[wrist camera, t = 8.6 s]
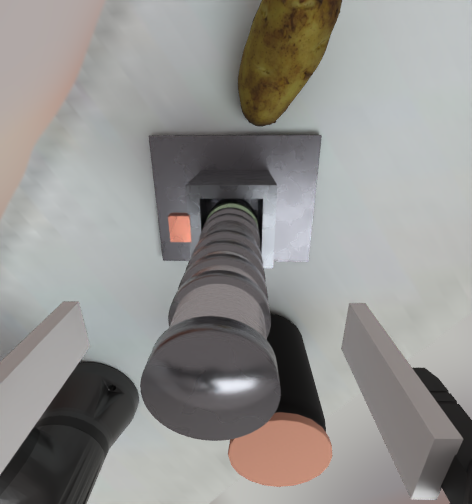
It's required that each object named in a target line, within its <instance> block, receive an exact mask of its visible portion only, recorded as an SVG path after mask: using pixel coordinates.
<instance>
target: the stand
mask: <svg viewBox="0 0 472 504" xmlns="http://www.w3.org/2000/svg"><path fill="white" fill-rule="evenodd" d="M321 137H322V135H196V136H149V142H150V151H151V160H152V168H153V177H154V186H155V195H156V203H157V212H158V221H159V230H160V238H161V247H162V256H163V260H166V261H190V259H191V256H192V254H193V251H194V249H195V247H196V245H197V244H198V242H199V238H200V234H201V232H202V230H203V227H204V225H205V223H206V220H207V218H208V215H209V213H210V211H211V209H212V207H213V206H214V205H215V204H216V203H217V202H218V201H220V200H222V199H243V200H245V201H247V202H248V203H249V204H250V205H251V206H252V207H253V209H254V210H255V213H256V216H257V223H258V230H259V237H260V251H261V254H262V259H263V268H273V261H293V262H308V261H309V251H310V242H311V232H312V223H313V213H314V204H315V194H316V185H317V175H318V165H319V156H320V146H321Z"/></svg>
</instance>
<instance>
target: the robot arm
mask: <svg viewBox="0 0 472 504" xmlns="http://www.w3.org/2000/svg"><path fill="white" fill-rule="evenodd" d="M89 348H90V343H89V339H88V335H87V331H86V327H85V323H84V319H83V315H82V311H81V307H80V303H79V302H69V301H63V302H62V303H61V304H60V305H59V306H58V307H57V308H56V309H55V310H54V311H53V312H52V313H51V314H50V315H49V316H48V317H47V318H46V319H45V320H44V321H43V322H42V323H41V324H39V325H38V326H37V327H36V328H35V329H34V330H33V331H32V332H31V333H30V334H29V335H28V336H27V337H26V338H25V339H24V340H23V341H22V342H21V343H20V344H19V345H18V346H16V347H15V348H14V349H13V350H12V351H11V352H10V353H9V354H8V355H7V356H6V357H5V358H4V359H3V360H2V361H1V362H0V504H86V503H87V501H88V499H89V496H90V494H91V491H92V489H93V487H94V484H95V482H96V479H97V477H98V475H99V472H100V470H101V467H102V465H103V462H104V460H105V458H106V455H107V453H108V451H109V449H110V447H111V446H112V445H113V443H114V442H115V441H116V440H117V439H118V437H119V436H120V435H121V434H122V432H123V431H124V430H125V428H126V427H127V426H128V425H129V424H130V422H131V421H132V419H133V417H134V415H135V412H136V409H137V407H138V403H139V396H138V392H137V390H136V388H135V386H134V384H133V383H132V382H131V381H130V380H129V379H128V378H127V377H126V376H125V375H124V374H122V373H121V372H119V371H118V370H116V369H114V368H112V367H109V366H106V365H103V364H99V363H91V362H83V363H79V362H80V360H81V359H82V358H83V356H84V355H85V353H86V352H87V350H88V349H89ZM341 349H342V351H343V353H344V355H345V358H346V360H347V362H348V364H349V366H350V368H351V371H352V373H353V375H354V377H355V379H356V381H357V384H358V386H359V388H360V390H361V392H362V394H363V396H364V399H365V401H366V403H367V405H368V407H369V409H370V412H371V414H372V416H373V418H374V420H375V422H376V425H377V427H378V429H379V431H380V433H381V435H382V438H383V440H384V442H385V444H386V446H387V448H388V450H389V453H390V455H391V457H392V459H393V461H394V464H395V466H396V468H397V470H398V472H399V474H400V477H401V479H402V481H403V483H404V485H405V487H406V490H407V492H408V494H409V496H410V498H411V499H418V500H436V499H437V497H438V495H439V493H440V491H441V488H442V489H443V491H444V492H445V494H446V496H447V498H448V499H449V501H450V504H472V420H471V419H470V417H469V416H468V415H467V414H466V413H465V411H464V410H463V409H462V407H461V406H460V405H459V404H457V401H456V400H455V399H454V397H453V396H452V395H451V394H449V393H448V390H447V389H446V387H445V386H444V385H443V384H442V382H441V381H440V380H439V379H438V378H437V377H436V376H434V375H433V374H432V373H431V372H429V371H428V370H427V369H425V368H412V367H411V366H410V364H409V363H408V362H407V360H406V359H405V357H404V356H403V355H402V353H401V352H400V351H399V349H398V348H397V346H396V345H395V344H394V342H393V341H392V340H391V338H390V337H389V335H388V334H387V333H386V331H385V330H384V328H383V327H382V326H381V324H380V323H379V322H378V320H377V319H376V317H375V316H374V315H373V313H372V312H371V310H370V309H369V308H368V306H367V305H366V304H365V303H349V307H348V313H347V319H346V324H345V330H344V336H343V342H342V348H341Z"/></svg>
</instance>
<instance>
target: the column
mask: <svg viewBox="0 0 472 504" xmlns="http://www.w3.org/2000/svg"><path fill="white" fill-rule="evenodd" d="M168 319H169V329H168V330H166V331H165V332H164V333H163V334H162V335H161V336H160V337H159V339H158V340H157V341H156V343H155V345H154V347H153V350H152V352H151V354H150V357H149V359H148V361H147V364H146V366H145V369H144V371H143V374H142V377H141V385H140V387H141V395H142V398H143V401H144V403H145V405H146V407H147V409H148V410H149V412H150V413H151V414H152V415H153V416H154V417H155V418H156V419H157V420H158V421H159V422H160V423H162V424H163V425H164V426H166V427H167V428H169V429H171V430H173V431H175V432H177V433H179V434H182V435H185V436H187V437H191V438H195V439H201V440H212V441H217V440H229V439H234V438H239V437H242V436H245V435H248V434H250V433H252V432H254V431H256V430H258V429H259V428H261V427H262V426H263V425H265V424H266V423H267V422H268V421H269V420H270V419H271V417H272V416H273V415H274V413H275V412H276V410H277V408H278V405H279V402H280V396H281V390H280V382H279V375H278V367H277V361H276V356H275V354H274V351H273V349H272V347H271V345H270V344H269V343H268V341H267V337H268V335H269V331H270V327H271V317H270V309H269V304H268V295H267V288H266V283H265V273H264V268H263V259H262V254H261V251H260V237H259V230H258V223H257V216H256V213H255V210H254V209H253V207H252V206H251V205H250V204H249V203H248V202H247V201H245V200H243V199H222V200H220V201H218V202H217V203H216V204H215V205H214V206H213V207H212V209H211V211H210V213H209V215H208V218H207V220H206V223H205V225H204V227H203V230H202V232H201V234H200V238H199V242H198V244H197V245H196V247H195V249H194V251H193V254H192V256H191V259H190V261H189V263H188V266H187V268H186V271H185V273H184V276H183V278H182V280H181V282H180V285H179V288H178V291H177V293H176V295H175V297H174V299H173V302H172V304H171V307H170V310H169V316H168Z"/></svg>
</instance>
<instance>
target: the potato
mask: <svg viewBox="0 0 472 504" xmlns="http://www.w3.org/2000/svg"><path fill="white" fill-rule="evenodd" d="M341 3H342V0H262V2H261V4H260V7H259V9H258V11H257V13H256V15H255V17H254V20H253V23H252V26H251V29H250V33H249V36H248V39H247V42H246V45H245V48H244V51H243V55H242V60H241V64H240V69H239V76H238V91H239V97H240V102H241V108H242V111H243V114H244V116H245V118H246V119H247V120H248V121H249V123H252V124H253V125H255V126H265V125H270V124H272V123H275V122H276V120H277V119H278V118H279V117H280V116H281V115H282V114H283V113H284V112H285V111H286V109H287V108H288V106H289V105H290V103H291V102H292V101H293V100H294V98H295V97H296V96H297V94H298V93H299V92H300V91H301V89H302V88H303V87H304V85H305V84H306V82H307V81H308V79H309V78H310V76H311V75H312V74H313V72H314V71H315V70H316V68H317V67H318V65H319V63H320V61H321V59H322V57H323V55H324V53H325V51H326V48H327V44H328V41H329V38H330V35H331V32H332V30H333V28H334V25H335V23H336V21H337V18H338V15H339V13H340V8H341Z"/></svg>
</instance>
